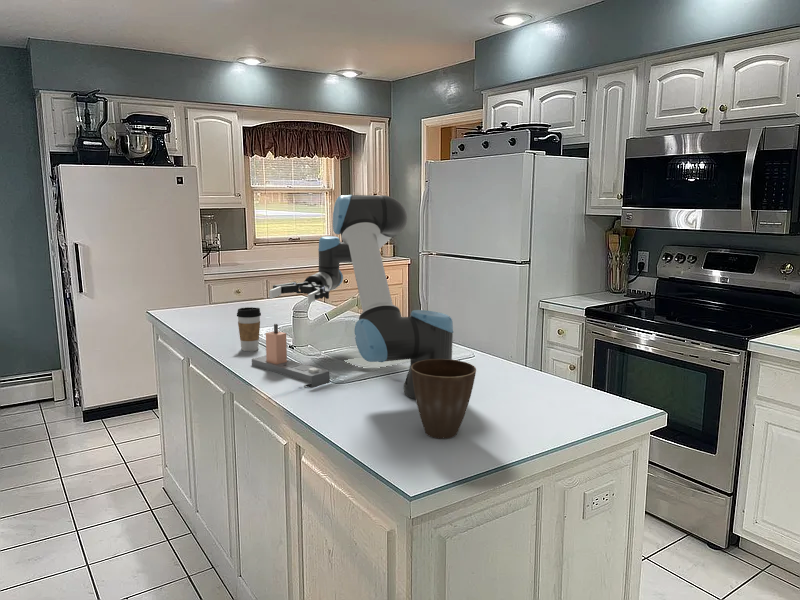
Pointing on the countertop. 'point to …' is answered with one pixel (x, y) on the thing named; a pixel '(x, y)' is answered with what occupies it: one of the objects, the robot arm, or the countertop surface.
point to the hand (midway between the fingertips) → (289, 296)
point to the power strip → (295, 371)
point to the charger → (276, 346)
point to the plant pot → (442, 394)
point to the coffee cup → (249, 328)
